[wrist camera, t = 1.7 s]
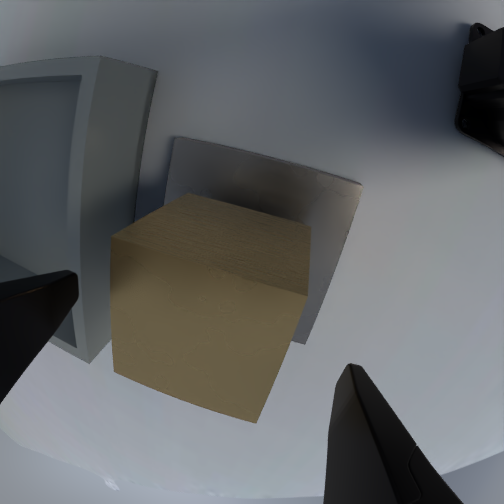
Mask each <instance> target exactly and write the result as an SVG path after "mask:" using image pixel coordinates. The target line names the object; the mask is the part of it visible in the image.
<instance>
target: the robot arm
mask: <svg viewBox="0 0 504 504" xmlns="http://www.w3.org/2000/svg"><path fill="white" fill-rule="evenodd" d="M477 29H479V30H480V31H481V33H482V35H480V34H479V33H478V31H477ZM458 87H459V89H460V92H461V94H460V99H459V103H458V108H457V113H456V117H455V126H456V128H457V130H458V131H459V132H460V133H462V134H464V135H466V136H468V137H470V138H472V139H474V140H476V141H477V142H479V143H481V144H483V145H485V146H487V147H488V148H490V149H492V150H494V151H495V152H497V153H499V154H500V155H502V156H504V27H503V28H500V29H498V30H496V31H493V30H491V29H489V28H488V27H486V26H484V25H483V24H481V23H475V24H473V25H472V26H471V28H470V35H469V44H467V45H465V47H464V53H463V60H462V67H461V73H460V78H459V84H458ZM463 119H465V120H466V122H467V127H466V128H464V127H463V125H462V121H463ZM78 298H79V283H78V275H77V274H76V273H75V272H72V271H70V270H62V271H56V272H51V273H46V274H41V275H36V276H31V277H26V278H21V279H15V280H10V281H5V282H0V404H1V402H2V401H3V400H4V398H5V397H6V395H7V394H8V393H9V391H10V390H11V388H12V387H13V386H14V384H15V383H16V382H17V380H18V379H19V378H20V376H21V375H22V374H23V372H24V371H25V370H26V368H27V367H28V366H29V365H30V363H31V362H32V361H33V359H34V358H35V357H36V356H37V354H38V353H39V352H40V351H41V349H42V348H43V347H44V346H45V344H46V343H47V342H48V341H49V340H50V338H51V337H52V336H53V335H54V333H55V332H56V331H57V329H58V328H59V327H60V325H61V324H62V322H63V321H64V319H65V318H66V316H67V315H68V313H69V312H70V310H71V309H72V307H73V306H74V305H75V303H76V302H77V300H78ZM323 504H463V503H462V501H461V500H460V499H459V498H458V497H457V495H456V494H455V493H454V492H453V491H452V489H451V488H450V487H449V486H448V485H447V484H446V482H445V481H444V480H443V479H442V478H441V476H440V475H439V474H438V473H437V471H436V470H435V469H434V468H433V466H432V465H431V464H430V462H429V461H428V459H427V458H426V457H425V455H424V454H423V453H422V451H421V450H420V448H419V447H418V446H416V443H415V441H414V440H413V438H412V437H411V435H410V434H409V432H408V431H407V430H406V428H405V427H404V425H403V424H402V422H401V421H400V420H399V418H398V417H397V415H396V414H395V412H394V411H393V410H392V408H391V407H390V405H389V404H388V402H387V401H386V400H385V398H384V397H383V395H382V394H381V393H380V391H379V390H378V388H377V387H376V386H375V384H374V383H373V381H372V380H371V379H370V377H369V376H368V374H367V373H366V372H365V370H364V369H363V367H362V366H360V365H356V364H352V363H350V364H348V365H347V366H346V367H345V369H344V371H343V373H342V374H341V376H340V378H339V380H338V381H337V384H336V387H335V393H334V400H333V406H332V412H331V418H330V425H329V432H328V449H327V465H326V479H325V491H324V502H323Z"/></svg>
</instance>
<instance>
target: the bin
mask: <svg viewBox="0 0 504 504" xmlns="http://www.w3.org/2000/svg"><path fill="white" fill-rule="evenodd" d="M157 73H158V71H155V70H152V69H149V68H145V67H142V66H138V65H135V64H131V63H127V62H123V61H120V60H116V59H112V58H108V57H103V56H87V57H70V58H58V59H48V60H40V61H32V62H25V63H19V64H13V65H7V66H1V67H0V282H5V281H10V280H15V279H21V278H26V277H31V276H36V275H41V274H46V273H51V272H56V271H62V270H70V271H72V272H75V273H76V274H77V275H78V283H79V298H78V300H77V302H76V303H75V305H74V306H73V307H72V309H71V310H70V312H69V313H68V315H67V316H66V318H65V319H64V321H63V322H62V324H61V325H60V327H59V328H58V329H57V331H56V332H55V333H54V335H53V336H52V337H51V338H50V340H49V342H51V343H52V344H54V345H56V346H57V347H59V348H61V349H63V350H65V351H66V352H68V353H70V354H72V355H74V356H75V357H77V358H79V359H81V360H83V361H85V362H87V363H89V364H90V363H91V362H92V361H93V359H94V358H95V357H96V356H97V355H98V354H99V352H100V351H101V350H102V349H103V348H104V347H105V346H106V345H107V343H108V342H109V341H110V340H111V339H112V337H111V314H110V252H111V236H112V235H114V234H115V233H117V232H119V231H121V230H122V229H124V228H126V227H127V226H129V225H131V224H132V223H134V215H135V205H136V196H137V187H138V179H139V172H140V165H141V158H142V151H143V145H144V139H145V133H146V127H147V122H148V116H149V111H150V106H151V101H152V96H153V91H154V87H155V82H156V78H157Z"/></svg>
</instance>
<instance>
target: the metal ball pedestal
mask: <svg viewBox="0 0 504 504" xmlns="http://www.w3.org/2000/svg"><path fill="white" fill-rule="evenodd" d="M362 190H363V186H362V185H361V184H360V183H358V182H355V181H352V180H348V179H345V178H342V177H339V176H336V175H333V174H329V173H326V172H323V171H319V170H316V169H312V168H309V167H306V166H302V165H298V164H295V163H291V162H288V161H284V160H280V159H276V158H272V157H269V156H265V155H261V154H257V153H253V152H249V151H244V150H240V149H236V148H231V147H227V146H223V145H218V144H213V143H209V142H204V141H199V140H194V139H189V138H184V137H180V138H175V139H174V144H173V150H172V156H171V161H170V167H169V173H168V179H167V186H166V192H165V199H164V205H166V204H168V203H170V202H172V201H173V200H175V199H177V198H179V197H181V196H183V195H185V194H187V193H191V194H195V195H199V196H203V197H207V198H211V199H215V200H218V201H222V202H226V203H230V204H233V205H237V206H241V207H244V208H248V209H252V210H255V211H259V212H262V213H266V214H270V215H273V216H277V217H280V218H284V219H287V220H291V221H294V222H298V223H301V224H304V225H308V226H311V248H310V269H309V287H308V298H307V300H306V303H305V306H304V309H303V311H302V314H301V316H300V319H299V322H298V324H297V327H296V329H295V332H294V335H293V337H292V340H291V341H294V342H298V343H301V344H306V341H307V339H308V337H309V334H310V332H311V330H312V327H313V325H314V322H315V320H316V317H317V315H318V313H319V310H320V308H321V305H322V303H323V300H324V298H325V295H326V292H327V290H328V287H329V285H330V282H331V279H332V277H333V274H334V272H335V269H336V266H337V263H338V261H339V258H340V255H341V252H342V250H343V247H344V244H345V241H346V238H347V235H348V233H349V230H350V227H351V224H352V221H353V218H354V215H355V212H356V209H357V206H358V203H359V200H360V196H361V193H362Z"/></svg>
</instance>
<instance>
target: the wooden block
mask: <svg viewBox="0 0 504 504" xmlns="http://www.w3.org/2000/svg"><path fill="white" fill-rule="evenodd" d="M310 248H311V226H308V225H304V224H301V223H298V222H294V221H291V220H287V219H284V218H280V217H277V216H273V215H270V214H266V213H262V212H259V211H255V210H252V209H248V208H244V207H241V206H237V205H233V204H230V203H226V202H222V201H218V200H215V199H211V198H207V197H203V196H199V195H195V194H191V193H187V194H185V195H183V196H181V197H179V198H177V199H175V200H173V201H172V202H170V203H168V204H166V205H164V206H163V207H161V208H159V209H157V210H155V211H154V212H152V213H150V214H148V215H146V216H145V217H143V218H141V219H139V220H138V221H136V222H134V223H132V224H131V225H129V226H127V227H126V228H124V229H122V230H121V231H119V232H117V233H115V234H114V235H112V236H111V252H110V314H111V337H112V353H113V365H114V372H115V373H118V374H120V375H122V376H124V377H126V378H129V379H131V380H133V381H135V382H138V383H140V384H142V385H145V386H147V387H150V388H152V389H155V390H157V391H159V392H162V393H165V394H167V395H170V396H172V397H175V398H178V399H180V400H183V401H186V402H189V403H191V404H194V405H197V406H200V407H203V408H206V409H209V410H212V411H215V412H218V413H221V414H225V415H228V416H231V417H235V418H238V419H241V420H245V421H248V422H252V423H257V420H258V418H259V416H260V414H261V411H262V409H263V407H264V405H265V402H266V400H267V398H268V395H269V393H270V391H271V388H272V386H273V384H274V381H275V379H276V377H277V374H278V372H279V369H280V367H281V365H282V362H283V360H284V357H285V355H286V352H287V350H288V347H289V345H290V342H291V340H292V337H293V335H294V332H295V329H296V327H297V324H298V322H299V319H300V316H301V314H302V311H303V309H304V306H305V303H306V300H307V298H308V287H309V269H310Z"/></svg>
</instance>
